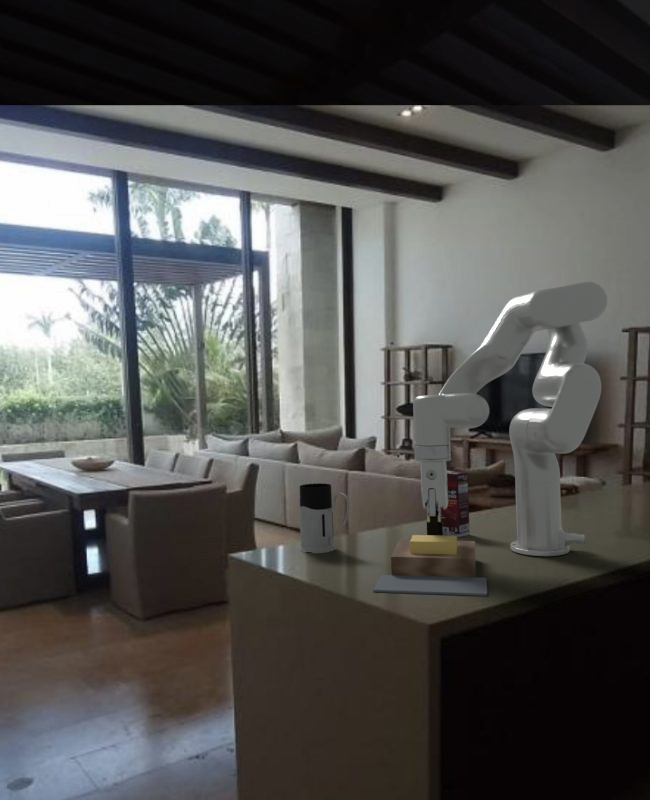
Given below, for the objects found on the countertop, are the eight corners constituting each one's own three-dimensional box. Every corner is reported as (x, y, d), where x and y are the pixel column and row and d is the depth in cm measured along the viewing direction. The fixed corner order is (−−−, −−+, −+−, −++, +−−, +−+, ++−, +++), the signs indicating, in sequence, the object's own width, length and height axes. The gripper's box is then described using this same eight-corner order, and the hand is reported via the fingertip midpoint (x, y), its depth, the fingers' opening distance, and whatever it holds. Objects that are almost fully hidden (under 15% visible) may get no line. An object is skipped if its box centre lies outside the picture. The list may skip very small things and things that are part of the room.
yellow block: (457, 547, 132) (456, 535, 132) (456, 554, 126) (456, 542, 126) (413, 546, 134) (412, 535, 134) (410, 553, 128) (409, 541, 128)
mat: (486, 579, 122) (486, 577, 122) (487, 596, 112) (487, 593, 112) (381, 576, 126) (381, 574, 126) (373, 591, 116) (373, 589, 116)
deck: (475, 559, 137) (474, 541, 137) (475, 579, 122) (474, 558, 122) (400, 558, 140) (399, 539, 140) (391, 577, 126) (390, 556, 126)
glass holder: (315, 543, 158) (313, 482, 158) (361, 550, 149) (359, 485, 149) (291, 550, 151) (289, 486, 151) (338, 558, 142) (336, 490, 142)
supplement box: (431, 533, 165) (429, 471, 165) (443, 530, 168) (441, 469, 168) (459, 538, 158) (456, 473, 158) (470, 534, 162) (468, 471, 162)
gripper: (448, 456, 127) (451, 549, 127) (452, 450, 142) (454, 533, 142) (410, 456, 129) (413, 548, 129) (418, 450, 143) (420, 533, 143)
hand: (435, 540), depth 135 cm, fingers closed
